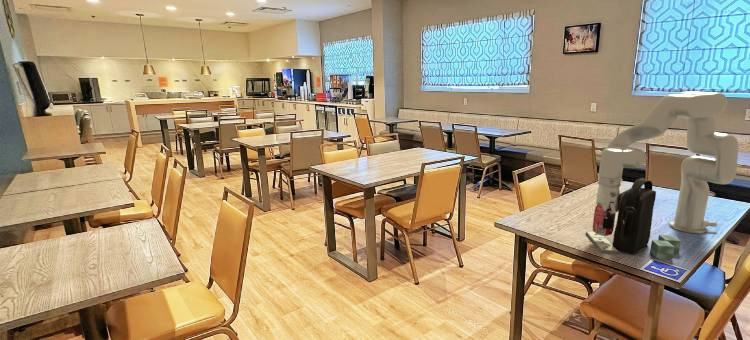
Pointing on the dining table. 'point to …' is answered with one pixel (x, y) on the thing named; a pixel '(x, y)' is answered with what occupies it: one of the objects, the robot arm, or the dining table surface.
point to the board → (601, 243)
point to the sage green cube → (662, 249)
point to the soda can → (601, 222)
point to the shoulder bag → (634, 217)
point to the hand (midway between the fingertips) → (603, 224)
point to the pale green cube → (671, 241)
